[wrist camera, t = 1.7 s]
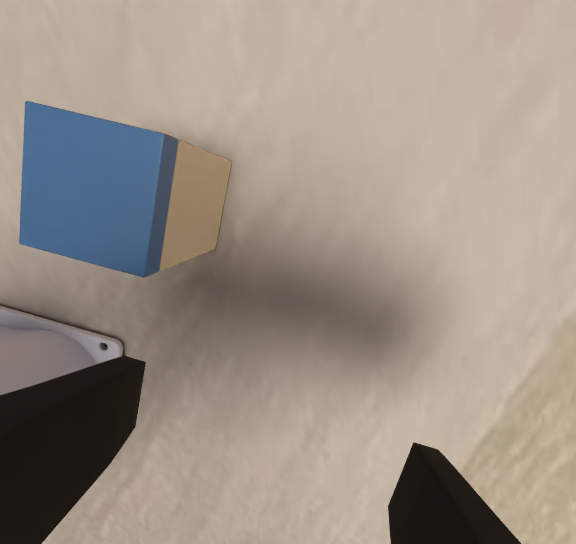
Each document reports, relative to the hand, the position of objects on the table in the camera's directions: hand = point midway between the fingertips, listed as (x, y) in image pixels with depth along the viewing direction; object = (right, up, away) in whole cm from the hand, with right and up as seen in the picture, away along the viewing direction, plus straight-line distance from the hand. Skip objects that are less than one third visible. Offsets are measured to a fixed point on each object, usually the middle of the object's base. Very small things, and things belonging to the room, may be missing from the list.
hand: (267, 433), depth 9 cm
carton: (-5, +8, +9) cm, 13 cm away
